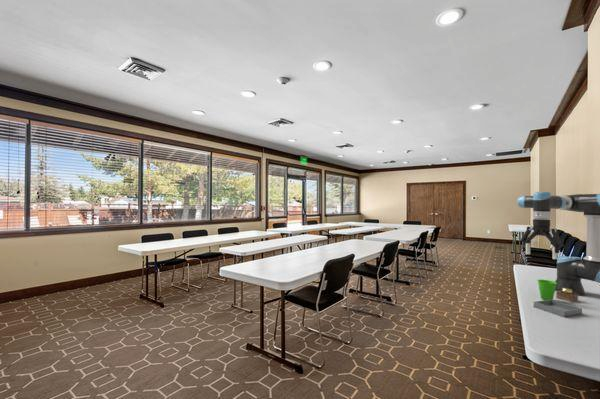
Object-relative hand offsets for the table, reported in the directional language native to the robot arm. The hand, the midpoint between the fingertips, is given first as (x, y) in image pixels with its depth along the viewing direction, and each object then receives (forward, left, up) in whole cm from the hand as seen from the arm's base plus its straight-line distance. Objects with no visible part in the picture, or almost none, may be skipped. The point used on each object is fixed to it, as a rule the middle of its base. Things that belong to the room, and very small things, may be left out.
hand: (540, 256), depth 159 cm
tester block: (-29, -3, -28) cm, 41 cm away
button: (-29, -3, -24) cm, 38 cm away
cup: (-16, -6, -28) cm, 33 cm away
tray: (-2, +7, -28) cm, 29 cm away
